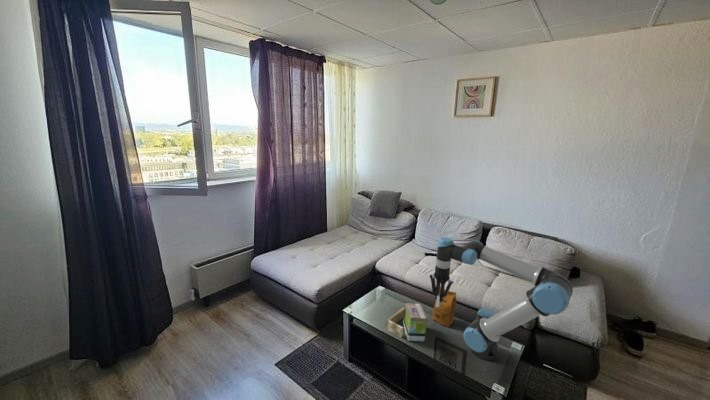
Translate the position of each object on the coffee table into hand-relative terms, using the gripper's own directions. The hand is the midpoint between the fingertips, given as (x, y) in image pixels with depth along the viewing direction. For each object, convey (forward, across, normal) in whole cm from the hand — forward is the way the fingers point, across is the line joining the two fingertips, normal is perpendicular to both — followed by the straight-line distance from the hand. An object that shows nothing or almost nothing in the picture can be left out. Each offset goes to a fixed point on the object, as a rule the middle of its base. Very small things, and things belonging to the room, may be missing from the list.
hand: (438, 305), depth 158 cm
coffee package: (+22, +4, -21) cm, 31 cm away
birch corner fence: (+21, +20, +2) cm, 30 cm away
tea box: (+22, +12, +2) cm, 25 cm away
